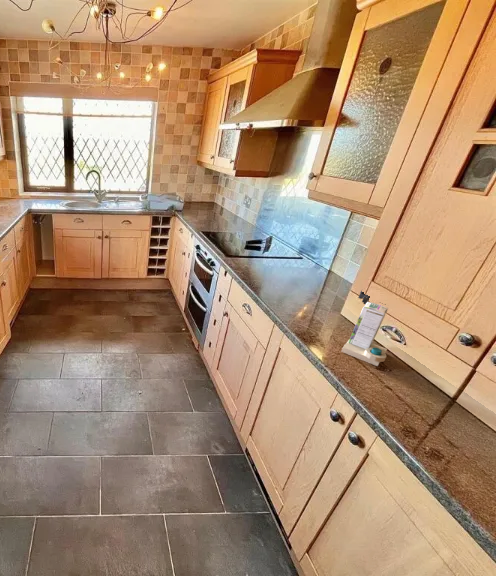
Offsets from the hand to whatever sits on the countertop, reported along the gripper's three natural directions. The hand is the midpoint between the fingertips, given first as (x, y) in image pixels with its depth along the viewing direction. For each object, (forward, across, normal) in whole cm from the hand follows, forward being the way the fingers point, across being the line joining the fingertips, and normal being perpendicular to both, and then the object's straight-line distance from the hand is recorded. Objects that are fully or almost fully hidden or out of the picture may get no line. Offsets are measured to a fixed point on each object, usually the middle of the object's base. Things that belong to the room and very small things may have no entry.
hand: (380, 306), depth 104 cm
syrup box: (+7, +1, -13) cm, 14 cm away
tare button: (+12, -4, -11) cm, 17 cm away
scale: (+9, -1, -14) cm, 17 cm away
